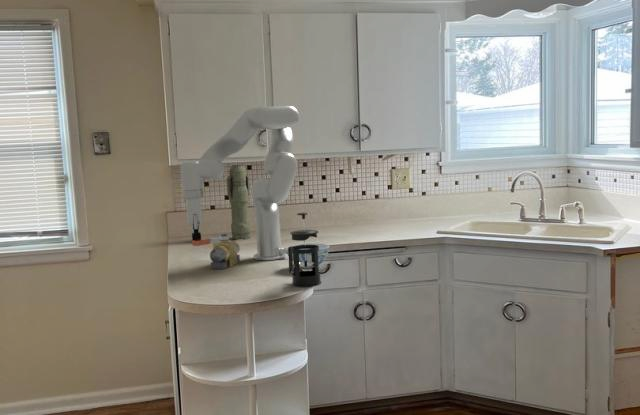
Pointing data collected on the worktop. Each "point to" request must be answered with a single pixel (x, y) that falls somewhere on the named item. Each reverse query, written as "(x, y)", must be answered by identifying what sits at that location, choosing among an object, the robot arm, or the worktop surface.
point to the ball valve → (224, 254)
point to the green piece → (239, 201)
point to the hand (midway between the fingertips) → (197, 243)
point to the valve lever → (210, 240)
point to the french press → (305, 276)
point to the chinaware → (321, 254)
